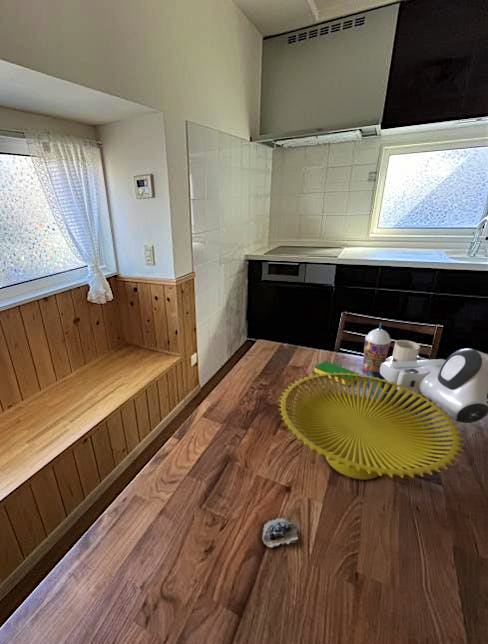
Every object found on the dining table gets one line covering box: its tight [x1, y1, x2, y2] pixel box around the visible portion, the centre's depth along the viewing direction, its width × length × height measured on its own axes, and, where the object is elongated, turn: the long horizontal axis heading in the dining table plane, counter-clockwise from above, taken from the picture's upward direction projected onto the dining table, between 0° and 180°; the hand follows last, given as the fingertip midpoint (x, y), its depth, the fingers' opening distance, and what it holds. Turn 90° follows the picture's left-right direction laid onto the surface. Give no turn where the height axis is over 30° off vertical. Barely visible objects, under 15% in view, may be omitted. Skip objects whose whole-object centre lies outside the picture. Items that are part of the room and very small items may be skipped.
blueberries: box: [261, 517, 299, 548], centre depth 71 cm, size 7×8×2 cm
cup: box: [391, 339, 421, 362], centre depth 109 cm, size 7×7×12 cm
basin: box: [366, 370, 432, 409], centre depth 113 cm, size 15×15×5 cm
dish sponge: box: [314, 360, 360, 387], centre depth 126 cm, size 7×14×2 cm, turn 37°
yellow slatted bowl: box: [277, 372, 465, 481], centre depth 86 cm, size 40×40×15 cm
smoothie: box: [362, 322, 392, 374], centre depth 124 cm, size 8×8×20 cm
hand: (402, 358), depth 109 cm, fingers closed on cup, 7 cm apart
